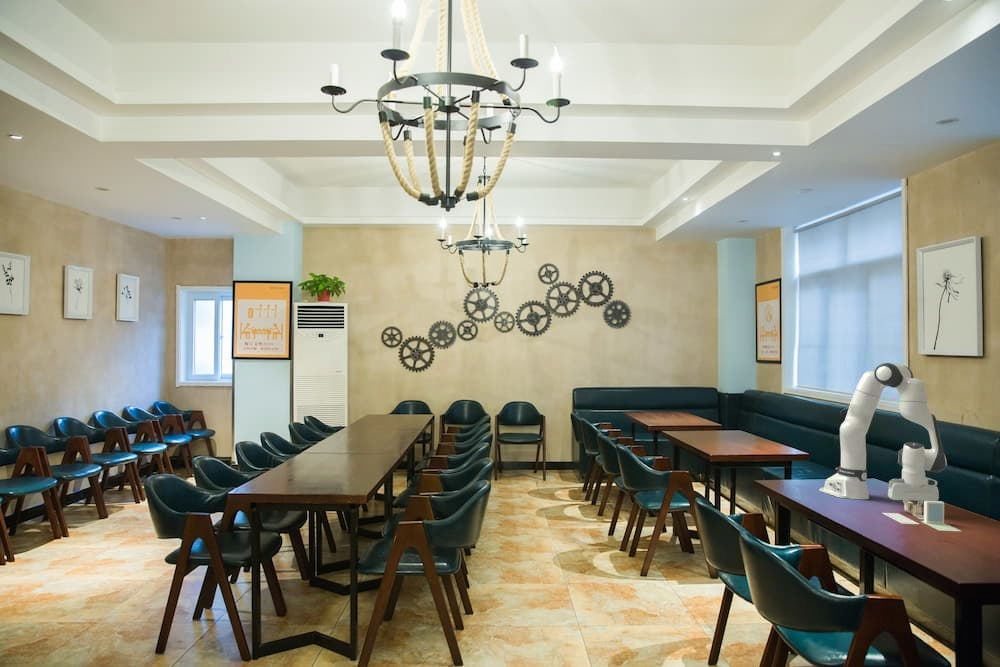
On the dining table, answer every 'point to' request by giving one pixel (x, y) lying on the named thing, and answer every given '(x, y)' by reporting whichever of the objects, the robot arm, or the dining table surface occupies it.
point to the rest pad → (900, 518)
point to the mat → (942, 527)
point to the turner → (915, 510)
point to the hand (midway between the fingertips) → (912, 510)
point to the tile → (934, 512)
